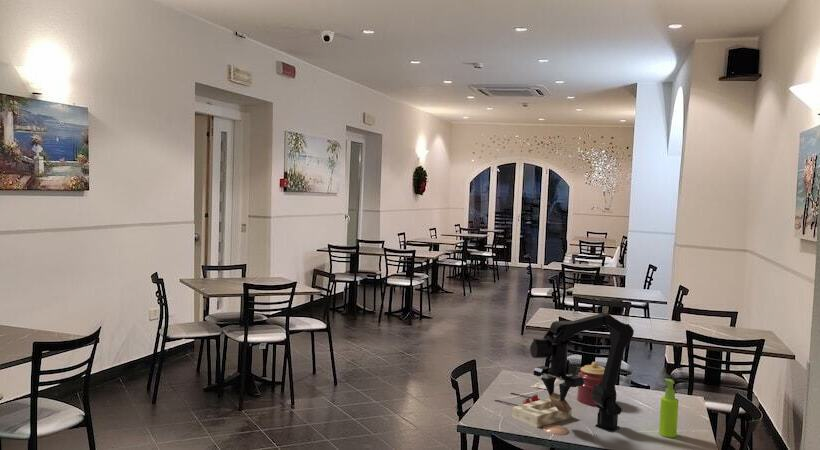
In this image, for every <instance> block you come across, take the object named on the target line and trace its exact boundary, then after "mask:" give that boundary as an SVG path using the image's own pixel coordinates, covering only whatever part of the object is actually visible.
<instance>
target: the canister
mask: <svg viewBox="0 0 820 450" xmlns="http://www.w3.org/2000/svg"><path fill="white" fill-rule="evenodd" d="M604 371H605V367H604V366H603V365H599V363H598V362H597V361H592V362H591V364H586V365H584V366H581V367H580V372H577V374H578V375H577V376H580V377H582V378H583V379H584V385H582V386H578V387H577V395H576V401H578V402H579V403H580V404H582V405H586V406H588V407H589V406H590V407H596V408H597V406H596V403H595V402H594V400H593V395H592V393H593V391H594V385H599V384H600V383H601V381H602V378H603V374H604Z"/></svg>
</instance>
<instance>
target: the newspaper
mask: <svg viewBox="0 0 820 450" xmlns="http://www.w3.org/2000/svg"><path fill="white" fill-rule="evenodd" d="M560 381H561V380H560V379H557V378H556V380H555V382H554V388H555V387H556V386H557V385H559V384H560ZM530 388H534V389H535V388H537V389H542V390H547V388H546V386H545V384H544V382H543V380H541V379H540V381H538V382H536V383H535V384H533V385H531V386H530Z"/></svg>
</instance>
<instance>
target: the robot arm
mask: <svg viewBox="0 0 820 450" xmlns="http://www.w3.org/2000/svg"><path fill="white" fill-rule="evenodd" d="M603 326H605V328H606V329H608V330H609V341H610V346H609V347H610V348H609V351H608V355H607V359H606V364H605V367H604V368H605V371H604V374H603V378H602V381H601V383H600V384H599V385H594V391H593V393H592V395H593V400H594V402H595V403H596V406H597V407H596V408H598V412H597V419H596V421H597V422H596V424H595V427H597V428H600V429H603V430H605V431H608V432H612V431H615V430H619V429H621V426H619V425H618V423H619V422H618V420H619V415H621V412H622V409H623V408H622V407H621V406H620V405H619V404H618V403H617V395H618V394H617V390H616V383H617V378H618V375H619V371H620V367H621V364H622V363H621V362H622V360H623V356H624V351H625V349H626V348H627V347H628V345H629V344H630V343H631V341H632V338H633V336H634V335H635V334H634V332H635V331H634V329H633V326H631V325H630V324H628V323H624V322H621V321H620V320H618V319H616V318H615V317H614V316H613V315H611V314H608V313H606V312H600V313H597V314H594V315H590V316H587V317H583V318H582V317H581V318H579V319H576V320H575V319H574V320H556V321H553V322H552V323H551V325H550V326H549V329H548V330H547V331H546V333H545V334H544V336H543V338H533V339H532V340H533V341H532V342H531V343H530V346H529V348H530V349H529V350H530V351H529V352H530V355H531V357H532V359H543V358H547V359H548V358H549V359H548V363H550V366H549V367H548V366H545V365H541V366H536V367H535V368H534V369H533V376H536V377H540V381H541V380H543V382H544V384H545V386H546V388H547V389H546V390H547V393H548V395H549V396H550V395H551V394H552V392H553V393H555V387H554V382H555V380H556V378H557V379H560V381H562V383H558V385H559V386H558V387H559V395H560V398H561V401H562V402H563V401H564V399H565V400H566V397H567V395H568V392H569V391H570V389H571V388H578V386H582V385H584V379H583V378H582V377H580V376H578V375H577V371H578V366H576V365H573V364H570V362H571V361H570V360H569V359H568V347H569V346H573V345H574V342H572V340H571V339H570V338H572V337H574V336H575V335H577V334H579V333H581V332H585V331H588V330H589V331H590V330H593V329H596V328H600V327H603ZM571 374H572V375H571Z"/></svg>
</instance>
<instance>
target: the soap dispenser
mask: <svg viewBox="0 0 820 450" xmlns="http://www.w3.org/2000/svg"><path fill="white" fill-rule="evenodd" d="M663 380H664V381H666V382H667V387H666V388H665V389H664V396H661V398H660V408H659V409H660V413H659V428H658V429H659V430H658V431H659V432H658V434H659V435H660V436H662V437H666V438H677V430H678V418H679V417H678V414H679V413H678V412H679V399H678V398H676V390H675V389H674V384H675V385H676V382H675V381H674V379H672V378H663Z"/></svg>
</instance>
